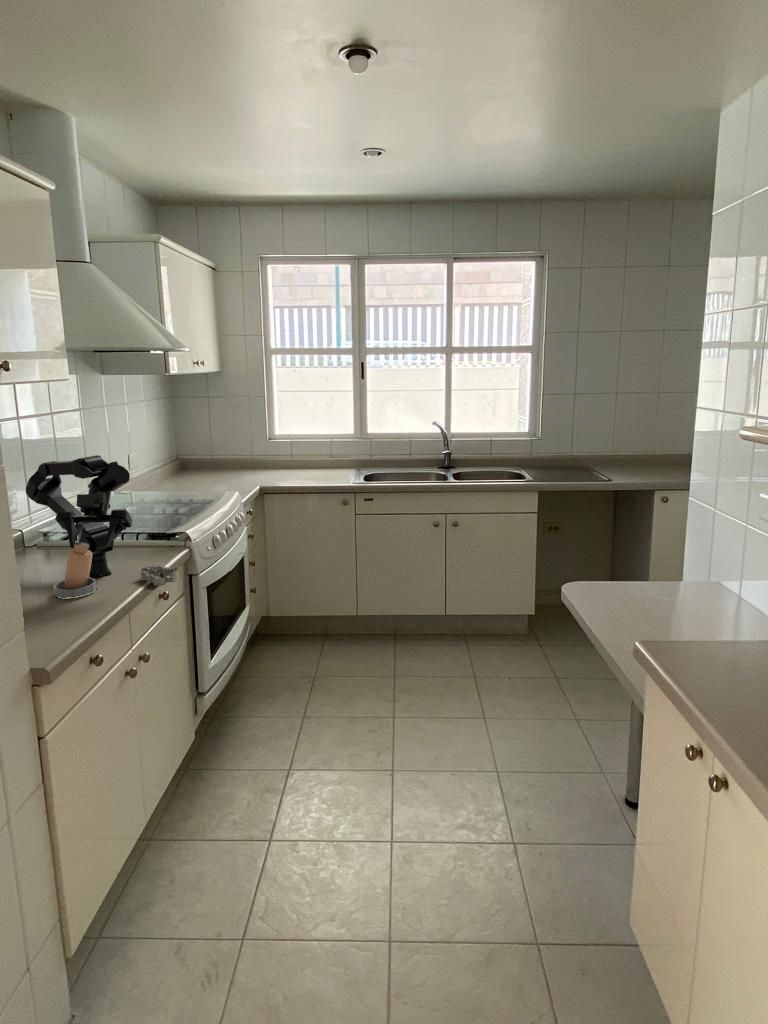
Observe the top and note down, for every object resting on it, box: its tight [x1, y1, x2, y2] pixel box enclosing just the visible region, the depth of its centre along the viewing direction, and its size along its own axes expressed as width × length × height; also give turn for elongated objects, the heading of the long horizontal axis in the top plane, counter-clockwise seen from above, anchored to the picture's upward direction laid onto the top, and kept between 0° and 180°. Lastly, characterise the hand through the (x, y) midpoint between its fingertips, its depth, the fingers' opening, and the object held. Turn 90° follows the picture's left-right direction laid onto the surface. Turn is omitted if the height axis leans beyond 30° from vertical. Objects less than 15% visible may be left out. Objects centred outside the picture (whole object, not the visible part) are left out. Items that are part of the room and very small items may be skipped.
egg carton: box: [138, 564, 178, 587], centre depth 191 cm, size 11×8×4 cm
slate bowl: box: [52, 577, 98, 598], centre depth 183 cm, size 10×10×2 cm
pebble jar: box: [63, 541, 93, 590], centre depth 181 cm, size 6×6×12 cm
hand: (89, 546), depth 179 cm, fingers open, 9 cm apart
